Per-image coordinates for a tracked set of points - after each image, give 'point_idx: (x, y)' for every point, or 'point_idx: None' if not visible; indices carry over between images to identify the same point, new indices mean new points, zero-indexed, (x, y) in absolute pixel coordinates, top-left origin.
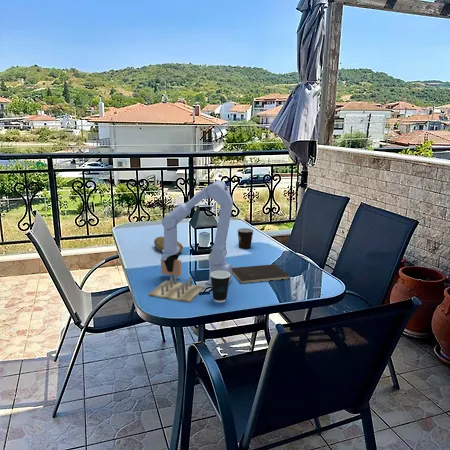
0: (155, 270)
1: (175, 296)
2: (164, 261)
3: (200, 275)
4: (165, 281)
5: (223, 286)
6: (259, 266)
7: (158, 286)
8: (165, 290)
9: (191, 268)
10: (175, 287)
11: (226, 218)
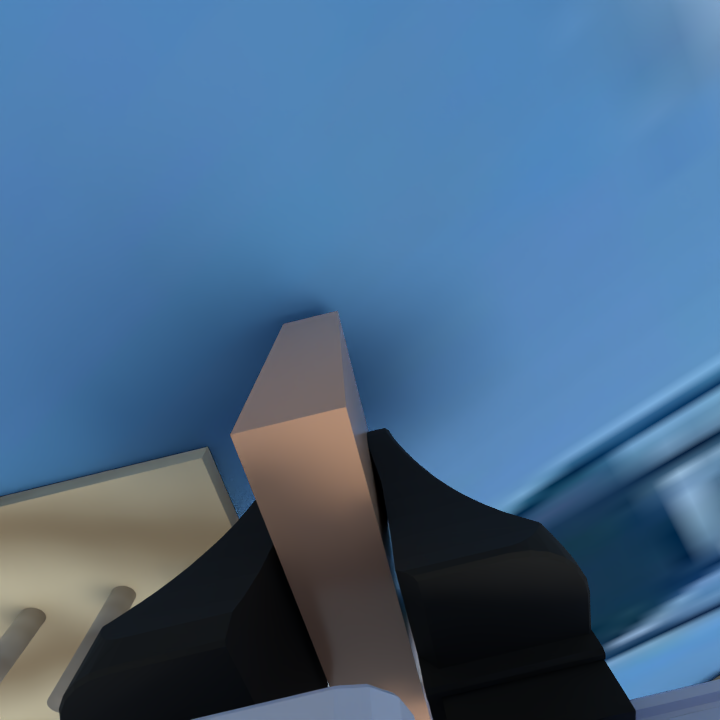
0: (433, 66)
1: (14, 716)
2: (181, 584)
3: None
4: (180, 475)
5: None
6: None
7: (26, 506)
8: (22, 605)
9: (684, 414)
10: None
11: None
